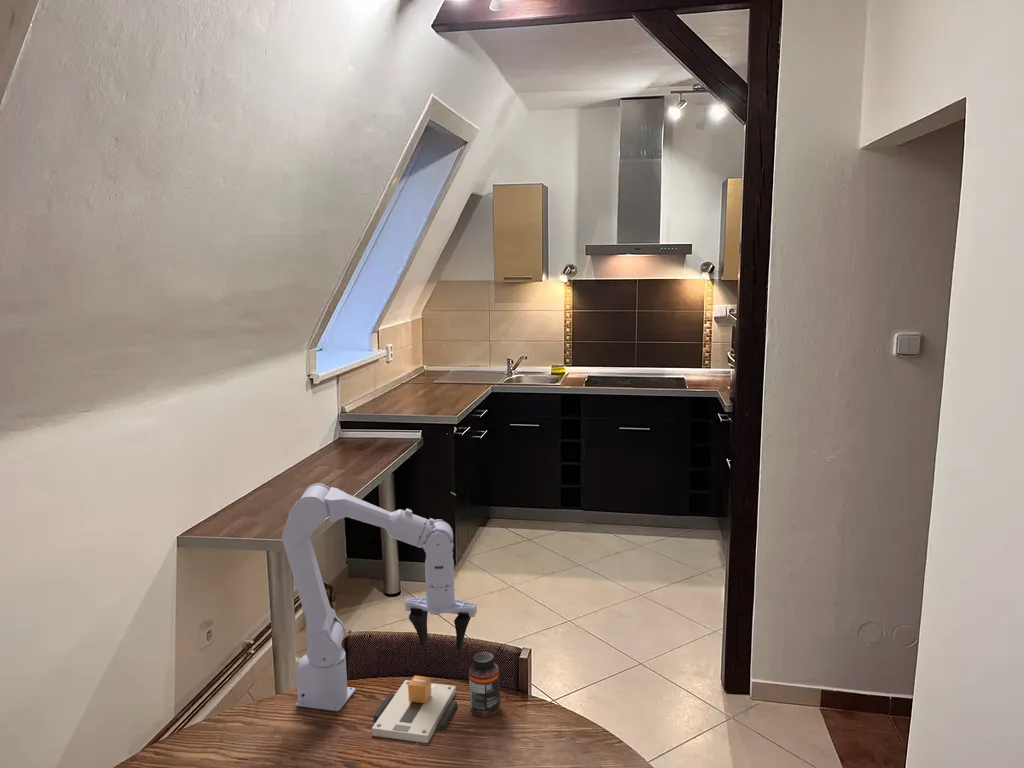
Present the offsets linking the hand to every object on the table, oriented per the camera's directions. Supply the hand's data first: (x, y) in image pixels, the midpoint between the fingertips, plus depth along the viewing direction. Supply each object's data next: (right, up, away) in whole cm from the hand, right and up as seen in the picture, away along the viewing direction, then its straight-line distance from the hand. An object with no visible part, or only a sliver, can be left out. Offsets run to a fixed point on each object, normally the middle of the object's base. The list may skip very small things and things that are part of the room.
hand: (441, 645), depth 154 cm
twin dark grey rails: (-5, -11, -5) cm, 13 cm away
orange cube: (-4, -9, -3) cm, 11 cm away
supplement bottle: (+9, -11, -5) cm, 15 cm away
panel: (-5, -11, -5) cm, 13 cm away
